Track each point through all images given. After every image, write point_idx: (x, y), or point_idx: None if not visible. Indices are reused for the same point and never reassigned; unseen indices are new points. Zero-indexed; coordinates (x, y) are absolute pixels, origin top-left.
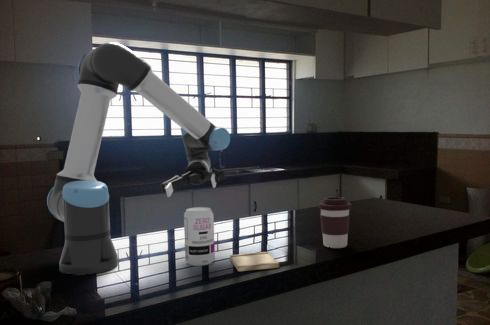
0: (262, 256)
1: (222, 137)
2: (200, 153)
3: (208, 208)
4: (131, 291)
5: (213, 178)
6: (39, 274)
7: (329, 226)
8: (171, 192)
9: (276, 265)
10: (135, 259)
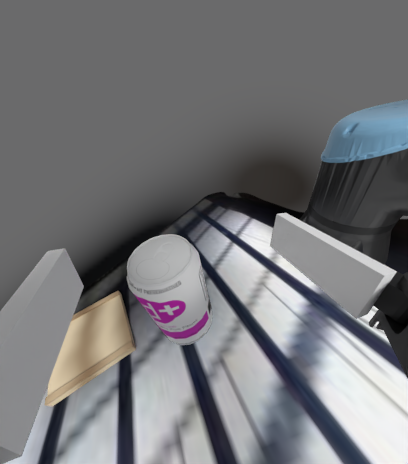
0: (67, 366)
1: None
2: None
3: (136, 278)
4: (215, 221)
5: (46, 254)
6: None
7: None
8: (304, 269)
9: None
10: (308, 296)
